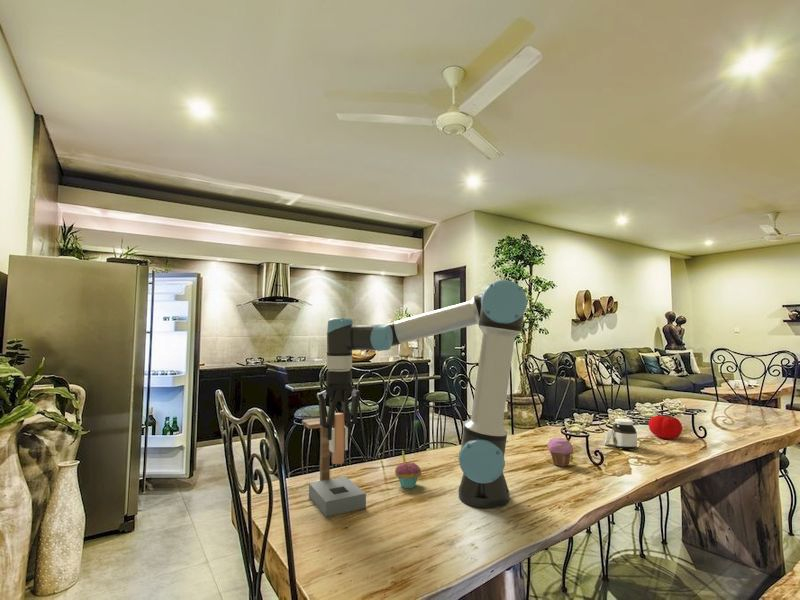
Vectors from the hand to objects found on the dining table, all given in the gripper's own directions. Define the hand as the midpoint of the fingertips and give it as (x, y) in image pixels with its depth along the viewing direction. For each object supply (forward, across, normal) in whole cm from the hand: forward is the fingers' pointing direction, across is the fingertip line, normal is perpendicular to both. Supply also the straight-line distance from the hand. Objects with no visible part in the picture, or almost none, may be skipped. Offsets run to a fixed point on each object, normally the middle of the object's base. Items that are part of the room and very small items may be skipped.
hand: (338, 449), depth 123 cm
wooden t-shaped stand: (+16, 0, -11) cm, 19 cm away
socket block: (+16, 0, -2) cm, 16 cm away
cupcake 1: (+16, -25, -3) cm, 30 cm away
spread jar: (+15, -126, +3) cm, 127 cm away
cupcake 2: (+15, -85, +7) cm, 87 cm away
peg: (+4, 0, 0) cm, 4 cm away
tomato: (+15, -159, +4) cm, 160 cm away
